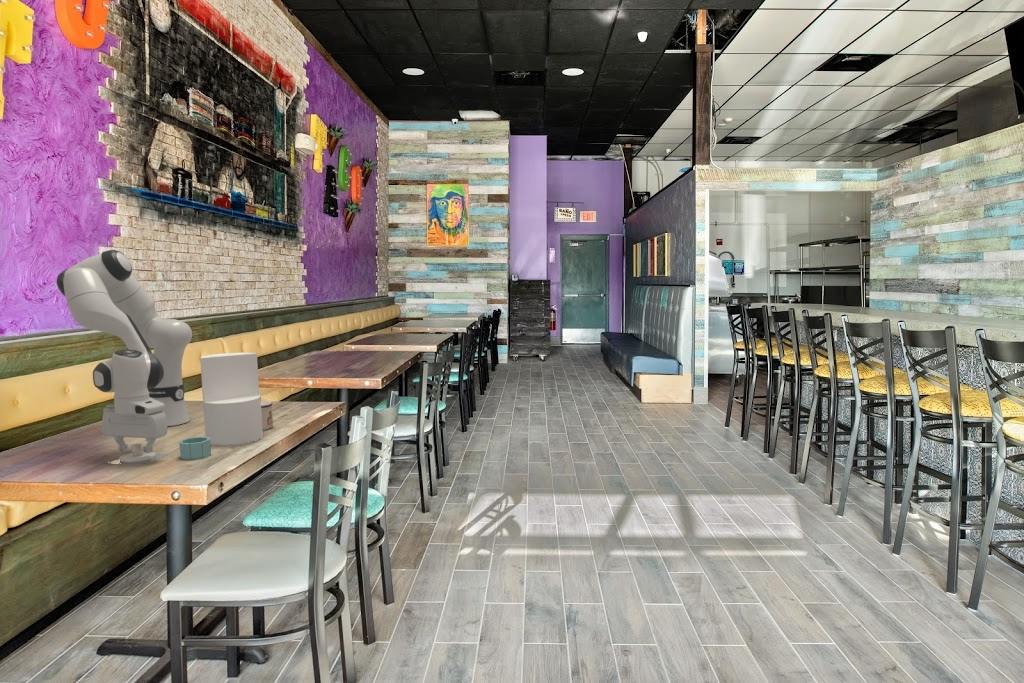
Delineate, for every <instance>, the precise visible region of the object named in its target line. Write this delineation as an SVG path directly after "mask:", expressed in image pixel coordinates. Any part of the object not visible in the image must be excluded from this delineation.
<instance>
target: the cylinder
mask: <svg viewBox="0 0 1024 683" xmlns="http://www.w3.org/2000/svg"><path fill="white" fill-rule="evenodd" d="M199 360H200V373H201V374H200V376H201V391H202V404H203V405H202V406H203V408H202V409H203V419H204V420H203V421H204V435H205V436H204V437H209V438H210V445H211V446H223V447H224V446H235V445H236V446H237V445H241V444H242V445H245V444H244V443H247V444H249V443H248V442H251V443H253V442H252V441H255V440H257V441H259V440H258V439H260V438H261V437H262V436H263V437H264V435H263V434H264V433H263V431H264V430H262V412H261V399H262V395H260V383H259V382H260V381H259V366H258V353H256V352H226V353H225V352H224V353H215V354H208V355H202V356H200V357H199ZM263 437H262V438H263ZM262 438H261V439H262ZM261 439H260V440H261ZM255 442H256V441H255Z"/></svg>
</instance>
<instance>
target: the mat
mask: <svg viewBox="0 0 1024 683" xmlns="http://www.w3.org/2000/svg"><path fill="white" fill-rule="evenodd" d="M169 455H171V453H163V452H162V453H158V452H155V458H153V459H150V460H147V461H143V462H137V463H122V462H120V463H121V464H120V463H119V464H118V466H129V465H130V467H131V466H133V467H140V466H142V465H145V464H147V463H150V462H153V461H156V460H158V459H159V460H160V459H162V458H164V457H167V456H169Z"/></svg>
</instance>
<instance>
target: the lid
mask: <svg viewBox="0 0 1024 683" xmlns="http://www.w3.org/2000/svg"><path fill="white" fill-rule="evenodd" d="M155 453H156V452H155V451H152V452H150V453H145V452H144V450H143V443H134V444H131V452H129V453H125V454H123V455H121V456H120V457H119V458H120V462H122V463H137V462H143V461H147V460H150V459H153V458H155Z"/></svg>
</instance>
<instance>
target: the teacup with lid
mask: <svg viewBox="0 0 1024 683" xmlns="http://www.w3.org/2000/svg"><path fill="white" fill-rule="evenodd" d="M261 412H262V430H263V431H267V430H266V429H268V430H270V429H269V428H271V429H273V426H274V424H273V423H274V422H273V421H274V420H273V402H272V401H270V400H266V398H261Z"/></svg>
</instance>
